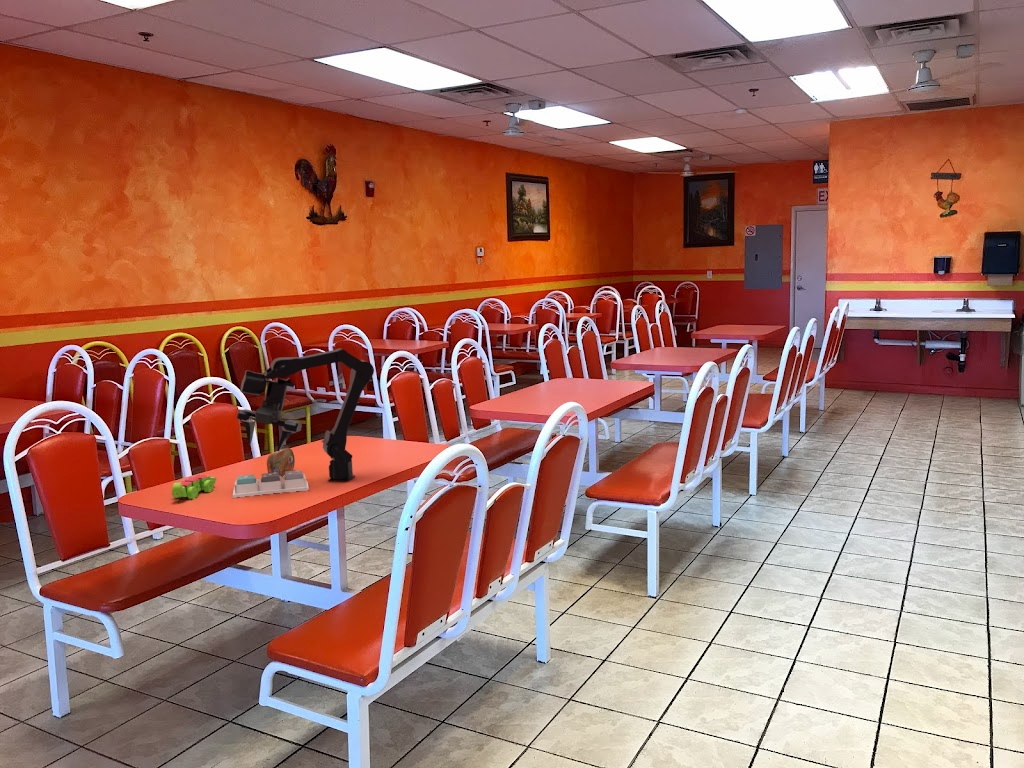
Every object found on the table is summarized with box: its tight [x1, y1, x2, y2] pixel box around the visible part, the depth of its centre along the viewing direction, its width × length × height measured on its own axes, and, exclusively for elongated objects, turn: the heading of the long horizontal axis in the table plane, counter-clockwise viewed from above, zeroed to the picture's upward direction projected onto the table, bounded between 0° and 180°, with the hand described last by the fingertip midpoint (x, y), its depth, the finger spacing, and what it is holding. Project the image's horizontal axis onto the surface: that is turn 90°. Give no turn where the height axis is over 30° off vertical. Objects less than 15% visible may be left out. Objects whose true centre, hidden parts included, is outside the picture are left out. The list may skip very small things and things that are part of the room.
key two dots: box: [285, 469, 303, 480], centre depth 258 cm, size 5×5×3 cm
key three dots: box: [261, 472, 279, 482], centre depth 256 cm, size 5×5×3 cm
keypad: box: [232, 473, 310, 499], centre depth 256 cm, size 22×9×4 cm, turn 106°
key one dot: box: [236, 473, 256, 485], centre depth 254 cm, size 5×5×3 cm
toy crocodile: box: [171, 474, 217, 500], centre depth 254 cm, size 20×7×6 cm, turn 165°
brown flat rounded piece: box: [266, 447, 296, 478], centre depth 276 cm, size 15×3×8 cm, turn 168°
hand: (263, 447), depth 257 cm, fingers open, 9 cm apart
